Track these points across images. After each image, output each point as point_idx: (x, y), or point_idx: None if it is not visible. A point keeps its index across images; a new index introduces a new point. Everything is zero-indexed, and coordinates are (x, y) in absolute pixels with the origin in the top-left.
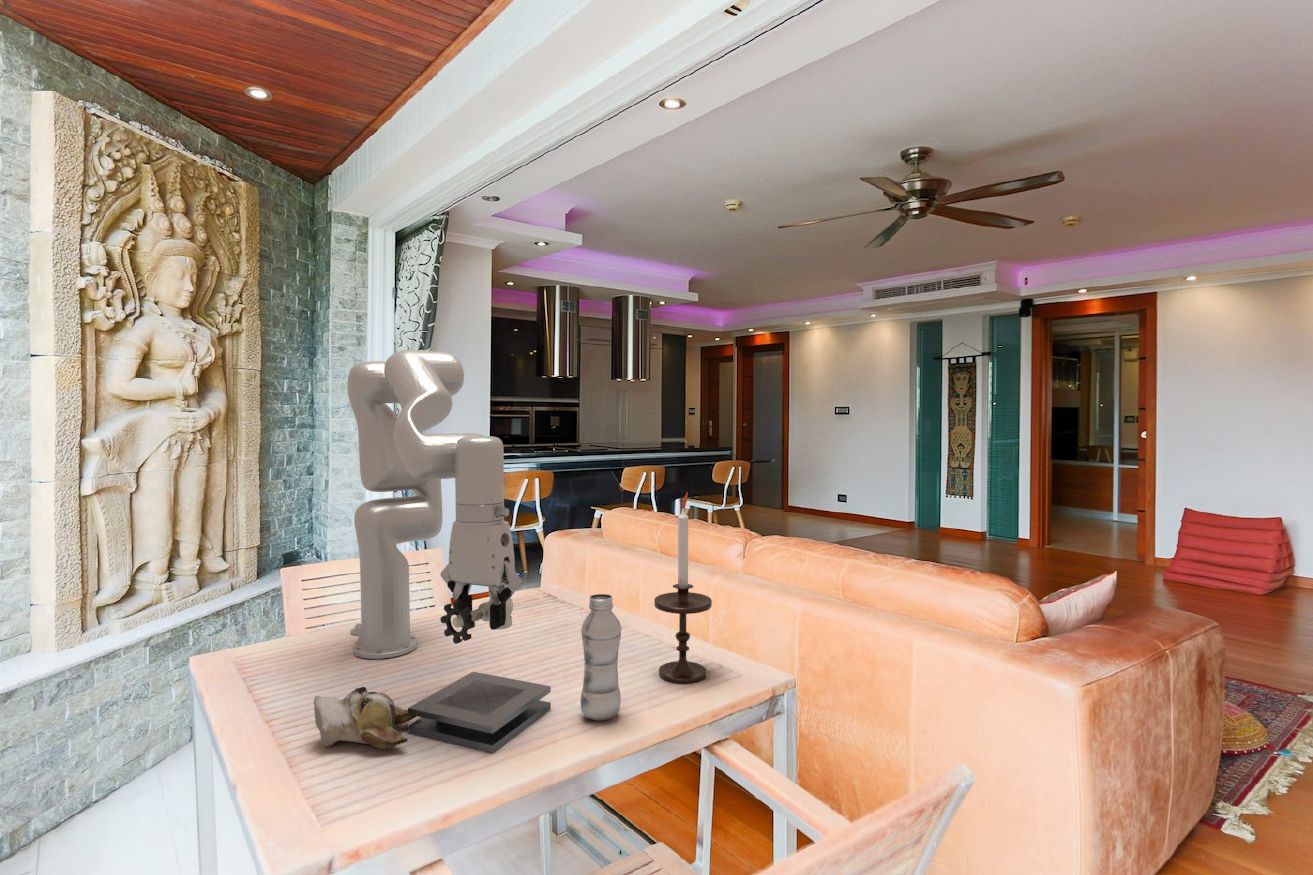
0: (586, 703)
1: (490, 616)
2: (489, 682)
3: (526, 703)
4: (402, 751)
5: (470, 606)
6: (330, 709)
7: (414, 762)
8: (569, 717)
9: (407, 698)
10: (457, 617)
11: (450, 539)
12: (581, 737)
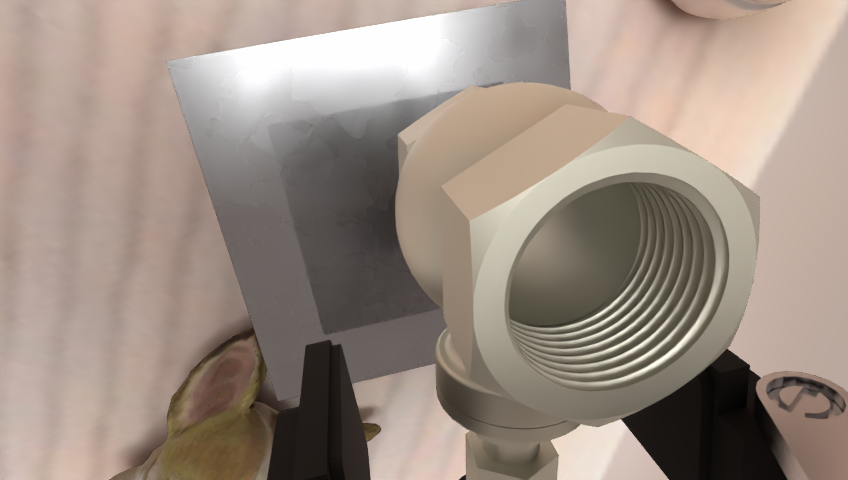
0: (729, 16)
1: (644, 442)
2: (330, 109)
3: None
4: (360, 408)
5: (348, 425)
6: None
7: (427, 416)
8: (614, 15)
9: (37, 228)
10: None
11: None
12: (705, 102)
